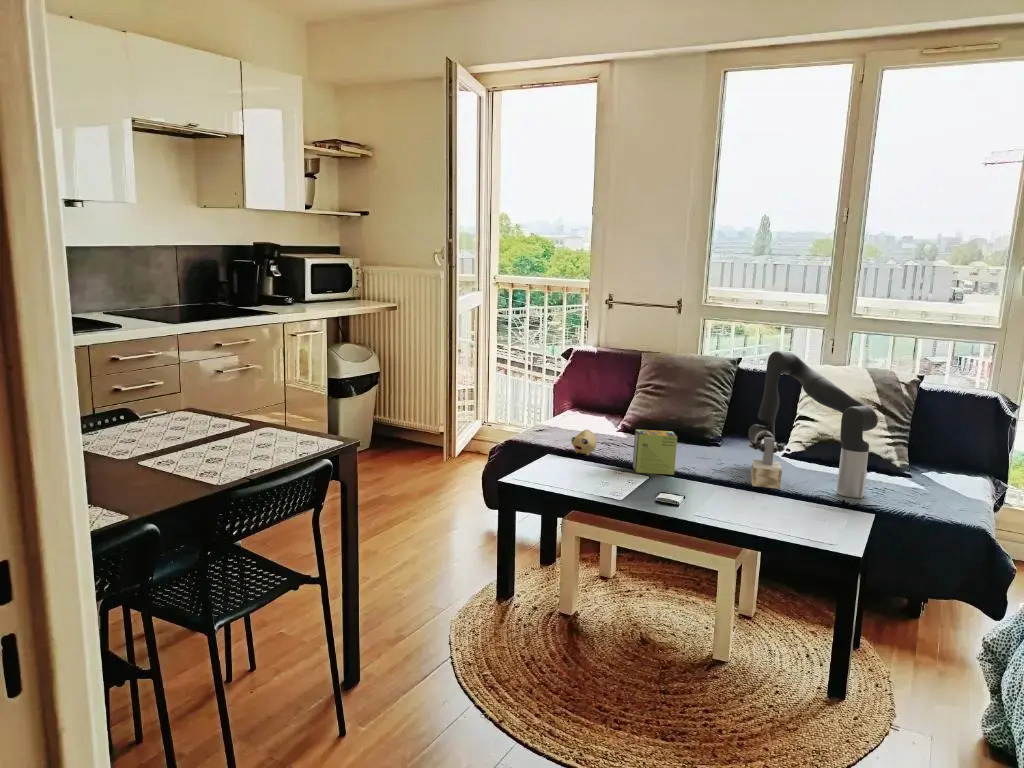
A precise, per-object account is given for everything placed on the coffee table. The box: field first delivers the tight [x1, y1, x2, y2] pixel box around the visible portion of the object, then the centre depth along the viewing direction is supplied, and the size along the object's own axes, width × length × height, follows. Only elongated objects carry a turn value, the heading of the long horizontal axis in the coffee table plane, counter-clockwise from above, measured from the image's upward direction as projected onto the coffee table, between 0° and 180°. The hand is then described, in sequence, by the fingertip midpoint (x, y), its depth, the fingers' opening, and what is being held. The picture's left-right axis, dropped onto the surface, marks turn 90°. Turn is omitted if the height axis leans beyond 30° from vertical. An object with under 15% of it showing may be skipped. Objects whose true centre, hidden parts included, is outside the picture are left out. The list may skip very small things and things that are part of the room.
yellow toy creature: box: [570, 429, 598, 457], centre depth 329 cm, size 10×12×11 cm
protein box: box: [632, 429, 678, 476], centre depth 306 cm, size 10×15×16 cm
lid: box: [751, 437, 783, 472], centre depth 293 cm, size 10×10×12 cm
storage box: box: [750, 462, 783, 490], centre depth 294 cm, size 10×10×7 cm
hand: (769, 449), depth 290 cm, fingers closed on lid, 3 cm apart
